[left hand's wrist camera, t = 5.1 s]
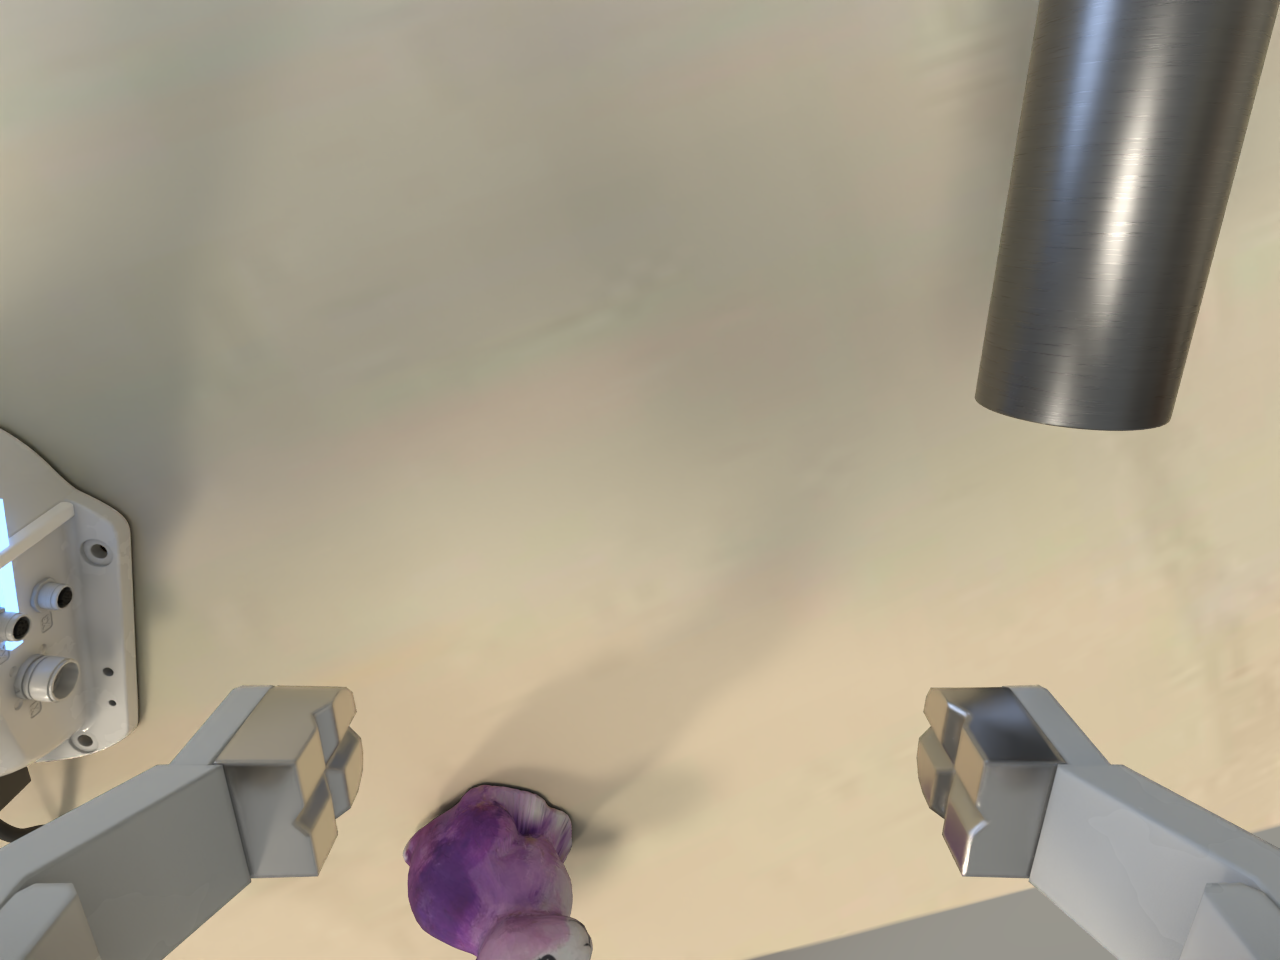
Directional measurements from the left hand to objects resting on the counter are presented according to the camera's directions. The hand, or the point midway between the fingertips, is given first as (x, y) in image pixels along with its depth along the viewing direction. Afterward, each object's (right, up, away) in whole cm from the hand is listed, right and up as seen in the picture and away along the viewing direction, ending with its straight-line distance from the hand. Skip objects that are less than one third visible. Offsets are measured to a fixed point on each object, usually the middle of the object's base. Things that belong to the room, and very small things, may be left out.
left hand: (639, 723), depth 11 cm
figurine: (-9, -20, +39) cm, 44 cm away
